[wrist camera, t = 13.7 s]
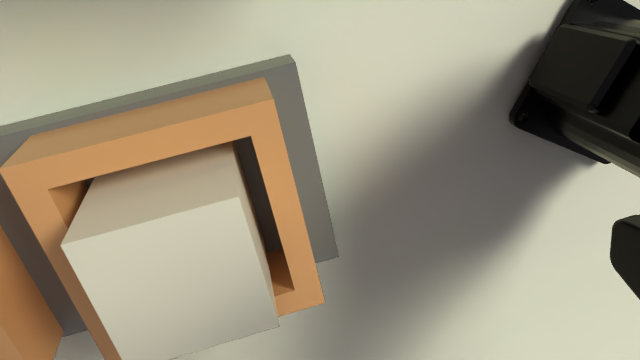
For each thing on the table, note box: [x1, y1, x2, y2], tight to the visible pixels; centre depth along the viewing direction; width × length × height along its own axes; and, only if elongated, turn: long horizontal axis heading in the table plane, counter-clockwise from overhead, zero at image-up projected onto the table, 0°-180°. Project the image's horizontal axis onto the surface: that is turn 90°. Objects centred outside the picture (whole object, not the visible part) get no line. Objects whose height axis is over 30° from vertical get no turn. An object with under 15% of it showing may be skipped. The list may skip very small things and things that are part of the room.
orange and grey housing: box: [0, 54, 339, 360], centre depth 17 cm, size 21×9×7 cm, turn 102°
